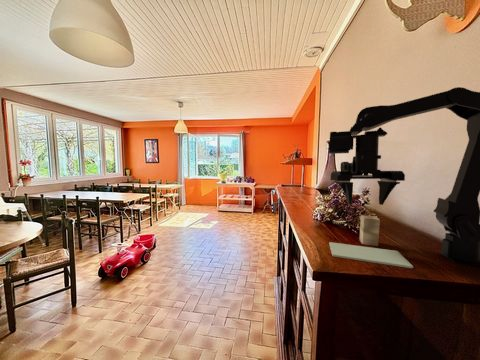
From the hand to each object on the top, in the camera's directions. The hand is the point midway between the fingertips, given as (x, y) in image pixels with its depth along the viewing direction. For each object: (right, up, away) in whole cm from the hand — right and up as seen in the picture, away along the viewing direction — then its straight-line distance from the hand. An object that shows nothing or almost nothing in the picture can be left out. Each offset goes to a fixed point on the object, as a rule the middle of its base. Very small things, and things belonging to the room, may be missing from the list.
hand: (365, 204), depth 60 cm
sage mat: (-4, -12, -7) cm, 15 cm away
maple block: (+2, -12, +1) cm, 12 cm away
